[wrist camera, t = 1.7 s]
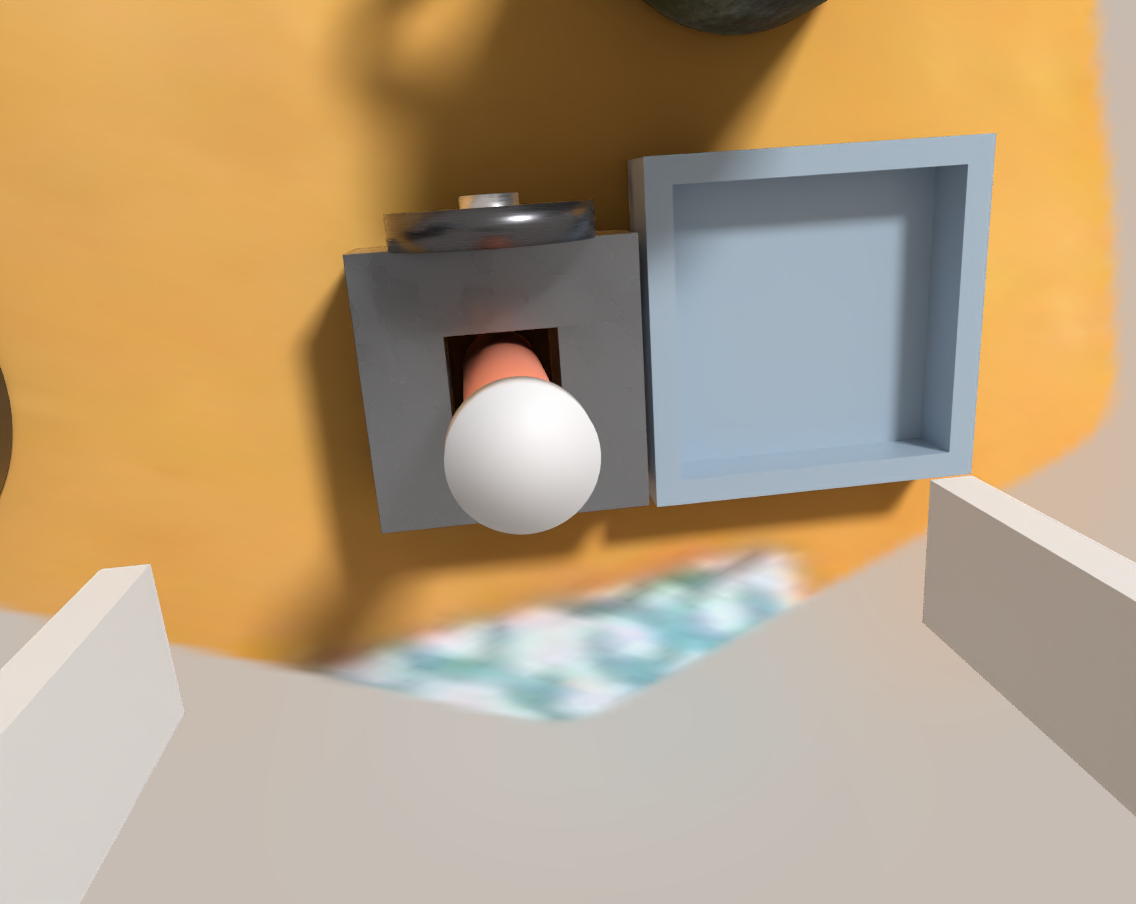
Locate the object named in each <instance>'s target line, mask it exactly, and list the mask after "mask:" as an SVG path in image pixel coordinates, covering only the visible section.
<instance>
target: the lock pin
mask: <svg viewBox="0 0 1136 904" xmlns="http://www.w3.org/2000/svg"><path fill="white" fill-rule="evenodd" d="M600 466H601V450H600V443H599V439H598V435H597V433H596V430H595V428H594V426H593V424H592V422H591V420H590V419H589V417H588V415H587V414H586V412H585V410H584V409H583V407H582V406H581V405H580V403H579V402H578V401H577V400H576V399H575V398H574V397H573V396H572V395H571V394H570V393H569V392H567V391H566V390H565V389H563V388H562V387H560V386H558V385H556V384H554V383H552V382H550V381H549V379H548V377H547V375H546V373H545V371H544V369H543V367H542V365H541V363H540V361H539V359H538V357H537V355H536V353H535V351H534V349H533V347H532V346H531V344H530V343H529V342H528V341H527V340H526V339H525V338H524V337H522V336H521V335H519V334H517V333H515V332H512V331H505V332H494V333H484V334H482V335H481V336H479V337H478V338H477V339H475V340H474V341H473V342H472V343H471V345H470V346H469V348H468V350H467V351H466V354H465V357H464V362H463V403H462V404H461V405H460V407H459V408H458V409H457V411H456V412H455V414H454V416H453V418H452V420H451V422H450V425H449V427H448V431H447V435H446V440H445V452H444V469H445V475H446V480H447V483H448V486H449V488H450V490H451V492H452V495H453V497H454V498H455V500H456V501H457V503H458V504H459V505H460V507H461V508H462V509H463V510H464V511H465V512H466V513H467V514H468V515H469V516H470V517H472V518H473V519H474V520H476V521H477V522H479V523H480V524H482V525H484V526H486V527H488V528H490V529H493V530H496V531H499V532H503V533H508V534H519V535H520V534H533V533H539V532H542V531H546V530H549V529H551V528H554V527H556V526H558V525H560V524H562V523H563V522H565V521H567V520H568V519H569V518H571V517H572V516H573V515H575V514H576V513H577V512H578V511H579V510H580V509H581V508H582V507H583V505H584V504H585V503H586V501H587V500H588V499H589V497H590V495H591V494H592V492H593V490H594V488H595V485H596V483H597V480H598V476H599V473H600Z"/></svg>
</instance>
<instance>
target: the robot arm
mask: <svg viewBox="0 0 1136 904" xmlns="http://www.w3.org/2000/svg"><path fill="white" fill-rule="evenodd" d="M11 448H12V415H11V407H10V400H9V396H8V391H7V387H6V383H5V380H4V377H3V373H2V370H1V368H0V492H1V490H2V487H3V485H4V482H5V478H6V475H7V472H8V467H9V462H10V457H11ZM923 623H924V624H925V625H926V626H927V627H928V628H929V629H931V630H932V631H933V632H934V633H935V634H936V635H937V636H938V637H939V638H940V639H942V640H943V641H944V642H945V643H946V644H947V645H948V646H949V647H950V648H951V649H953V650H954V651H955V652H956V653H957V654H958V655H959V656H960V657H961V658H962V659H964V660H965V661H966V662H967V663H968V664H969V665H970V666H971V667H972V668H973V669H974V670H976V671H977V672H978V673H979V674H980V675H981V676H982V677H983V678H984V679H985V680H987V681H988V682H989V683H990V684H991V685H992V686H993V687H994V688H995V689H996V690H998V691H999V692H1000V693H1001V694H1002V695H1003V696H1004V697H1005V698H1006V699H1007V700H1009V701H1010V702H1011V703H1012V704H1013V705H1014V706H1015V707H1016V708H1017V709H1018V710H1019V711H1021V712H1022V713H1023V714H1024V715H1025V716H1026V717H1027V718H1028V719H1029V720H1030V721H1032V722H1033V723H1034V724H1035V725H1036V726H1037V727H1038V728H1039V729H1040V730H1041V731H1042V732H1044V733H1045V734H1046V735H1047V736H1048V737H1049V738H1050V739H1051V740H1052V741H1053V742H1055V743H1056V744H1057V745H1058V746H1059V747H1060V748H1061V749H1062V750H1063V751H1064V752H1066V753H1067V754H1068V755H1069V756H1070V757H1071V758H1073V760H1074V761H1075V762H1077V763H1078V764H1079V765H1080V766H1081V767H1082V768H1083V769H1084V770H1085V771H1086V772H1088V773H1089V774H1090V775H1091V776H1092V777H1093V778H1094V779H1095V780H1096V781H1097V782H1098V783H1100V784H1101V785H1102V786H1103V787H1104V788H1105V789H1106V790H1107V791H1108V792H1109V793H1111V794H1112V795H1113V796H1114V797H1115V798H1116V799H1117V800H1118V801H1119V802H1120V803H1121V804H1123V805H1124V806H1125V807H1126V808H1127V809H1128V810H1129V811H1130V812H1131V813H1132V814H1134V815H1135V816H1136V563H1135V562H1133V561H1131V560H1129V559H1127V558H1126V557H1124V556H1122V555H1120V554H1118V553H1116V552H1114V551H1112V550H1111V549H1109V548H1107V547H1105V546H1103V545H1101V544H1099V543H1097V542H1096V541H1094V540H1092V539H1090V538H1088V537H1086V536H1084V535H1082V534H1080V533H1079V532H1077V531H1075V530H1073V529H1071V528H1069V527H1067V526H1065V525H1064V524H1062V523H1060V522H1058V521H1056V520H1054V519H1052V518H1050V517H1049V516H1047V515H1045V514H1043V513H1041V512H1039V511H1037V510H1035V509H1033V508H1032V507H1030V506H1028V505H1026V504H1024V503H1022V502H1021V501H1018V500H1017V499H1015V498H1013V497H1011V496H1009V495H1007V494H1006V493H1004V492H1002V491H1000V490H998V489H996V488H994V487H992V486H991V485H989V484H987V483H985V482H983V481H981V480H979V479H977V478H976V477H974V476H964V477H955V478H945V479H936V480H930V497H929V515H928V533H927V550H926V569H925V587H924V603H923ZM183 715H184V708H183V704H182V700H181V695H180V691H179V687H178V682H177V678H176V674H175V669H174V665H173V660H172V656H171V652H170V647H169V643H168V639H167V634H166V630H165V625H164V621H163V617H162V612H161V608H160V604H159V599H158V595H157V591H156V586H155V582H154V577H153V573H152V569H151V564H145V565H136V566H126V567H117V568H108V569H100V570H99V571H98V572H97V573H96V574H95V575H94V576H93V577H92V578H91V579H90V580H89V581H88V582H87V583H86V584H85V585H84V586H83V587H82V588H81V589H80V590H79V591H78V592H77V593H76V594H75V595H74V596H73V597H72V598H71V599H70V600H69V601H68V602H67V603H66V604H65V605H64V606H63V607H62V608H61V609H60V610H59V611H58V612H57V613H56V614H55V615H54V616H53V617H52V618H51V619H50V620H49V621H48V622H47V623H46V624H45V625H44V626H43V628H42V629H40V630H39V632H38V633H37V634H35V635H34V637H32V638H31V639H30V641H28V643H26V645H25V646H24V647H22V648H21V650H19V651H18V652H17V654H15V655H14V657H12V658H11V659H10V661H8V663H7V664H6V665H5V666H4V667H3V668H2V669H1V670H0V904H80V902H81V900H82V899H83V897H84V895H85V893H86V892H87V889H88V888H89V886H90V884H91V882H92V880H93V879H94V877H95V875H96V873H97V872H98V870H99V868H100V866H101V864H102V862H103V861H104V859H105V857H106V855H107V853H108V852H109V850H110V848H111V846H112V844H113V842H114V840H115V838H116V837H117V835H118V833H119V832H120V830H121V828H122V826H123V824H124V822H125V821H126V819H127V817H128V815H129V813H130V811H131V810H132V808H133V806H134V804H135V802H136V801H137V799H138V797H139V795H140V793H141V792H142V790H143V788H144V786H145V784H146V782H147V781H148V779H149V777H150V775H151V773H152V771H153V769H154V768H155V766H156V764H157V763H158V761H159V759H160V757H161V755H162V753H163V752H164V750H165V748H166V746H167V744H168V743H169V741H170V739H171V737H172V735H173V733H174V731H175V730H176V728H177V726H178V724H179V722H180V721H181V719H182V717H183Z"/></svg>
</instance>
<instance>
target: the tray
mask: <svg viewBox="0 0 1136 904" xmlns="http://www.w3.org/2000/svg"><path fill="white" fill-rule="evenodd" d="M995 144H996V133H991V134H976V135H961V136H946V137H931V138H916V139H901V140H886V141H870V142H855V143H840V144H825V145H810V146H795V147H780V148H765V149H750V150H735V151H720V152H705V153H689V154H674V155H659V156H644V157H640V158H636V159H632V160H628V161H627V164H628V186H629V209H630V231H631V232H637V233H638V243H639V266H640V290H641V314H642V338H643V362H644V386H645V410H646V433H647V457H648V481H649V495H650V497H651V498H652V500H653V501H654V503H655V505H656V506H657V507H663V506H672V505H682V504H691V503H701V502H710V501H719V500H729V499H738V498H748V497H757V496H766V495H776V494H785V493H794V492H804V491H813V490H823V489H832V488H841V487H851V486H860V485H870V484H879V483H888V482H898V481H907V480H917V479H926V478H935V477H945V476H954V475H963V474H971V468H972V455H973V441H974V428H975V414H976V401H977V387H978V374H979V360H980V347H981V333H982V320H983V306H984V293H985V279H986V266H987V252H988V239H989V225H990V211H991V198H992V184H993V171H994V157H995Z"/></svg>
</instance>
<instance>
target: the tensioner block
mask: <svg viewBox="0 0 1136 904" xmlns="http://www.w3.org/2000/svg"><path fill="white" fill-rule="evenodd" d="M458 199H459V208H457V209H443V210H430V211H417V212H404V213H391V214H383V216H384V224H385V232H386V240H387V246H386V247H373V248H359V249H355V250H353V251H350V252H348V253H346V254H343V260H344V267H345V275H346V282H347V289H348V296H349V303H350V310H351V317H352V324H353V332H354V339H355V346H356V353H357V360H358V367H359V374H360V381H361V388H362V396H363V403H364V410H365V417H366V424H367V431H368V438H369V445H370V453H371V460H372V467H373V474H374V481H375V488H376V495H377V502H378V509H379V517H380V524H381V531H382V534H383V533H392V532H401V531H411V530H420V529H430V528H439V527H448V526H458V525H467V524H477V523H479V522H477V521H476V520H474V519H473V518H472V517H470V516H469V515H468V514H467V513H466V512H465V511H464V510H463V509H462V508H461V507H460V505H459V504H458V503H457V501H456V500H455V498H454V497H453V495H452V492H451V490H450V488H449V486H448V483H447V480H446V475H445V469H444V452H445V440H446V435H447V431H448V427H449V425H450V422H451V420H452V418H453V416H454V414H455V406H454V397H453V388H452V378H451V369H450V360H449V351H448V342H447V336H458V335H470V334H482V333H494V332H505V331H517V330H529V329H541V328H548V335H549V349H550V362H551V376H552V383H554V384H556V385H558V386H560V387H562V388H563V389H565V390H566V391H567V392H569V393H570V394H571V395H572V396H573V397H574V398H575V399H576V400H577V401H578V402H579V403H580V405H581V406H582V407H583V409H584V410H585V412H586V414H587V415H588V417H589V419H590V420H591V422H592V424H593V426H594V428H595V430H596V433H597V435H598V439H599V443H600V450H601V466H600V473H599V476H598V480H597V483H596V485H595V488H594V490H593V492H592V494H591V495H590V497H589V499H588V500H587V501H586V503H585V504H584V505H583V507H582V508H581V509H580V510H579V511H578V512H577V513H580V512H590V511H599V510H609V509H618V508H627V507H637V506H646V505H649V481H648V457H647V433H646V410H645V386H644V362H643V338H642V314H641V290H640V266H639V243H638V233H637V232H631V231H625V230H619V229H615V230H602V231H596V225H595V207H594V199H591V200H574V201H558V202H543V203H528V204H519V194H518V192H511V193H496V194H482V195H468V196H458Z"/></svg>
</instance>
